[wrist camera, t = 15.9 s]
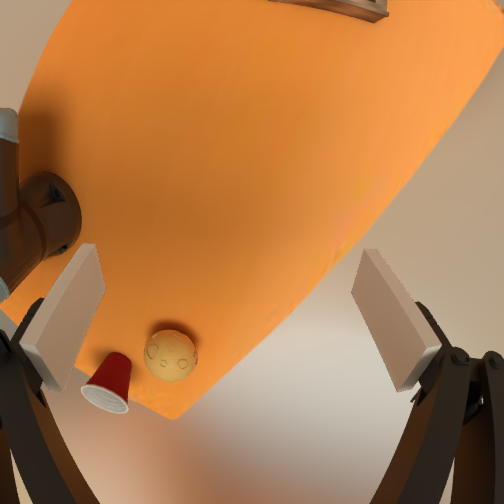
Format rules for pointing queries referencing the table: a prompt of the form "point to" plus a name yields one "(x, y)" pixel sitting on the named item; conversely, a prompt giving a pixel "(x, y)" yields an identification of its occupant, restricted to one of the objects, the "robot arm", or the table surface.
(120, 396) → the plastic cup
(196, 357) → the stress ball
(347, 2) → the crate
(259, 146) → the table surface
